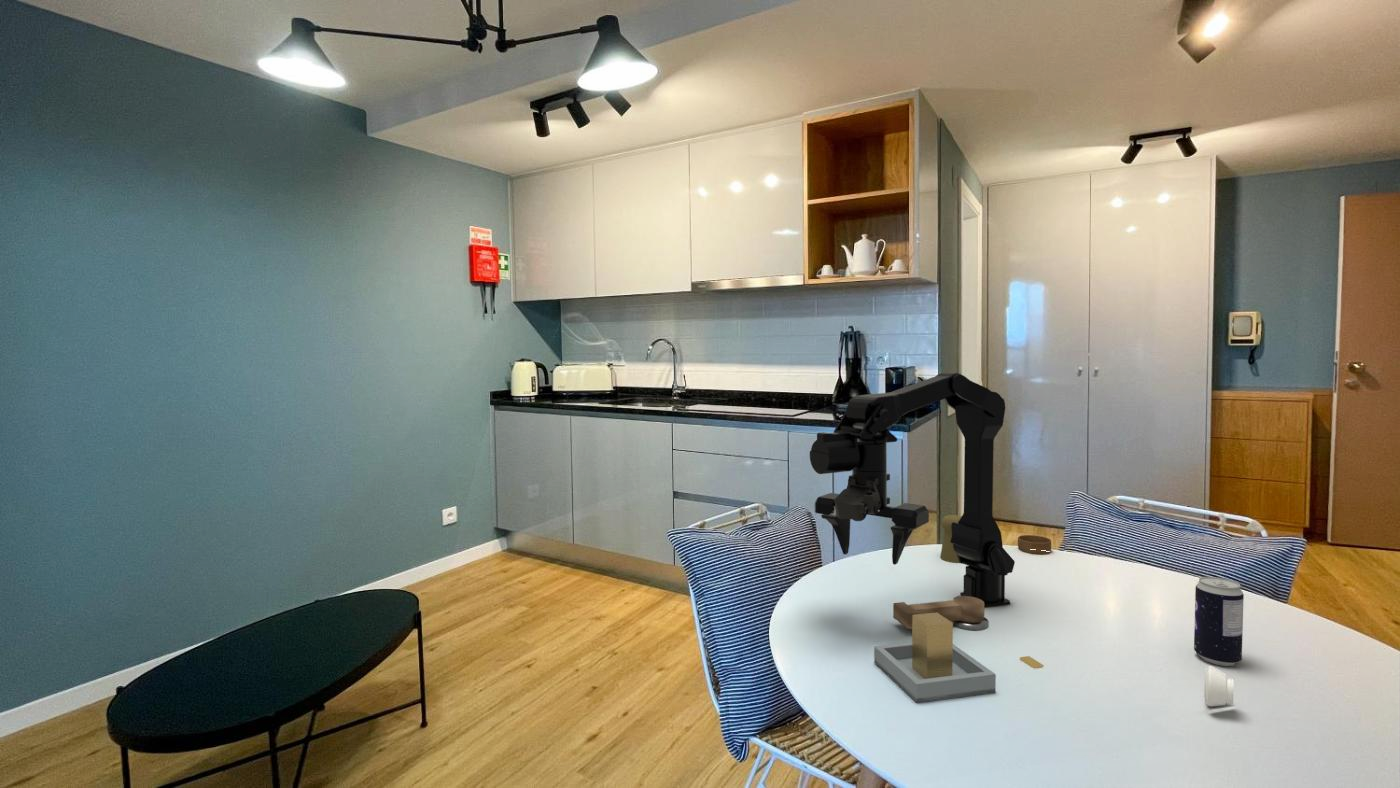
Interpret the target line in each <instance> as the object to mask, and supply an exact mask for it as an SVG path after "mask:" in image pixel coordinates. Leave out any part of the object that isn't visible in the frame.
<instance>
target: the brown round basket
mask: <svg viewBox="0 0 1400 788" xmlns="http://www.w3.org/2000/svg"><path fill="white" fill-rule="evenodd" d="M1017 548H1018V550H1019V551H1020V552H1022V553H1025V554H1029V555H1037V556H1043V555H1044V556H1045V555H1049V554H1051V552H1052V539H1050V538H1048V537H1046V536H1042V535H1034V534H1023V535H1019V536H1018V537H1017ZM1030 549H1036V550H1030ZM1041 550H1046V551H1051V552H1046V551H1041Z"/></svg>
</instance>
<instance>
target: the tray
mask: <svg viewBox="0 0 1400 788" xmlns="http://www.w3.org/2000/svg"><path fill="white" fill-rule="evenodd" d="M873 650H874V653H873V658H874V659H873V660H874V662H873V663H874V664H875V665H876V667H878V668H879V669H880V670H881V671H882V672H883V673H884V674H885V675H887V677H888V678H889V679H891V681H892V682H894V683H895V684H896V685H897V686H898V687H899V688H900V689H901V690H903V692H904V693H905V694H906V695H908V696H909V698H910V699H912V701H914V702H915V704H920V703H921V704H922V703H927V702H935V701H944V700H950V699H957V698H965V697H973V696H980V695H986V694H987V695H989V694H996V683H997V682H996V677H997V675H996V673H995V672H993V671H992V670H990V669H989V668H988V667H986V666H985V665H983V664H982V663H981V662H980V661H978V660H976V659H975V658H974V657H972V656H971V655H969V654H968V653H966V652H965V651H964V650H962V649H961V648H960V647H958V646H957V645H955V644H954V643H953V667H952V676H946V677H937V678H929V679H924V678H923V677H922V676H921V675H919V674H918V673H917V672H916V671H915V670H914V669H913V668H912V641H908V642H900V643H891V644H881V645H874V647H873Z"/></svg>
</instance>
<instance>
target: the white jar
mask: <svg viewBox="0 0 1400 788" xmlns="http://www.w3.org/2000/svg"><path fill="white" fill-rule="evenodd" d="M1204 671H1205V672H1204V683H1203V685H1204V686H1203V687H1204V688H1203V690H1204V691H1203V698H1204V701H1205V703H1206V704H1207V706H1208V707H1218V706H1225V705H1226V703H1229V704H1234V693H1235V691H1234V690H1235V689H1234V687H1235V686H1234V685H1235V681H1234V679H1233V678H1230V677H1229V678H1227V675H1226V674H1225V673H1224V672H1223V671H1221V670H1219V669H1218V668H1216V667H1214V666H1213V665H1209V666H1207V667H1206V669H1205V670H1204Z"/></svg>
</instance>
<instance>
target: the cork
mask: <svg viewBox="0 0 1400 788" xmlns="http://www.w3.org/2000/svg"><path fill="white" fill-rule="evenodd" d="M961 517H962V515H961V516H960V515H957V514H956V515H955V514H949V515H945V516H943V518H942V519H941V526H942V529H943V537H942V544H941V550H940V559H941V560H942V561H944V562H946V563H951V564H960V563H959V560H958V557H957V553H956V552H955V551H954V549H953V544H952V543H950V541H951V538H952V529H951V525H952V523H953V522H957V523H958V521H959V520H960V518H961Z"/></svg>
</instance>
